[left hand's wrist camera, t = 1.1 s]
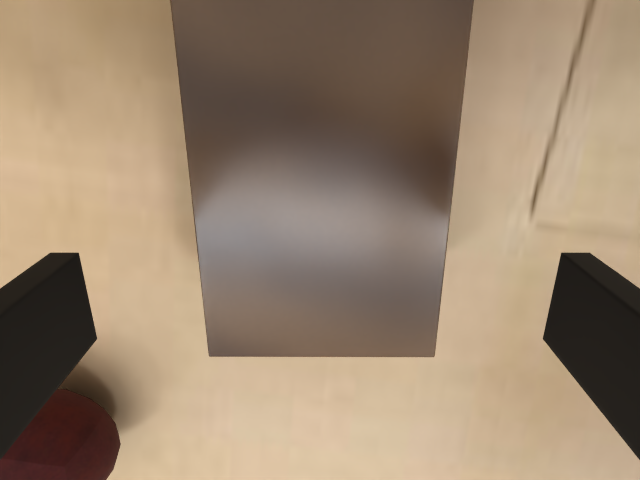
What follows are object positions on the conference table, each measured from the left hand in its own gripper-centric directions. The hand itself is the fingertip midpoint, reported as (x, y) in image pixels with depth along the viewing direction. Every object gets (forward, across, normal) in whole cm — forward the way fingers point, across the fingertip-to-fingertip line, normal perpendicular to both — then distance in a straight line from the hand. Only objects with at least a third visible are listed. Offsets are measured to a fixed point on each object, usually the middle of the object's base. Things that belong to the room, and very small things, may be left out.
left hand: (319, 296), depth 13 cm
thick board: (+12, 0, -22) cm, 25 cm away
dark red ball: (+12, +16, +15) cm, 25 cm away
